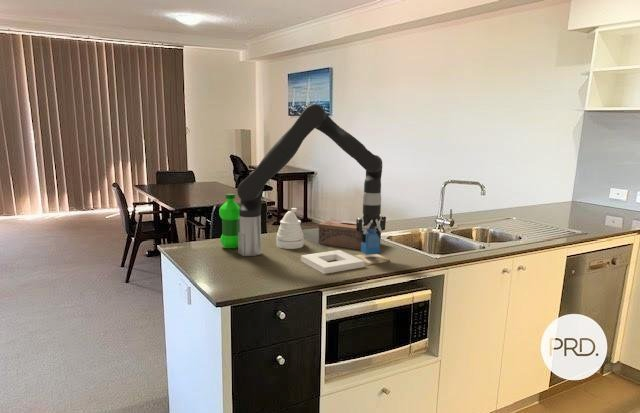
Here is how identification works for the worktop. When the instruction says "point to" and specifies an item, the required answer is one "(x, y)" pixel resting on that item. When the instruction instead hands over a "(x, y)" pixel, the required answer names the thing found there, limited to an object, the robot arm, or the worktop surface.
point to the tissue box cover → (340, 233)
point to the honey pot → (290, 232)
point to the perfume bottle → (371, 242)
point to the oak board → (372, 258)
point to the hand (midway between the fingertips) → (370, 241)
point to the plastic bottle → (230, 222)
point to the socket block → (341, 264)
